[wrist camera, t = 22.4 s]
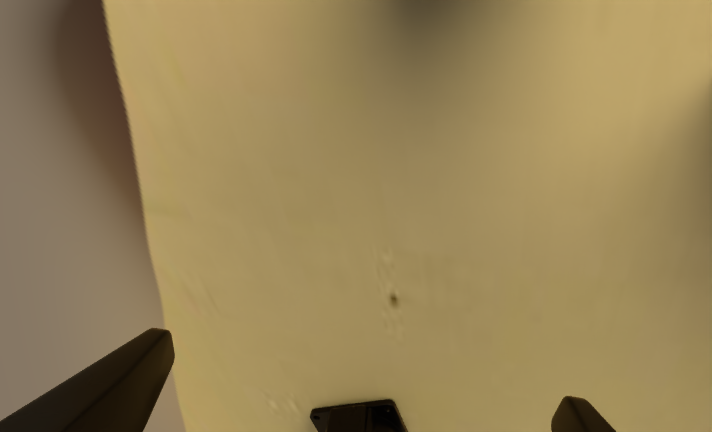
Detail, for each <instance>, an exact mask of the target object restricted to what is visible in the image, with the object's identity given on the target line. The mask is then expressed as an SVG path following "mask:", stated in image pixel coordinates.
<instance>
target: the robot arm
mask: <svg viewBox="0 0 712 432" xmlns="http://www.w3.org/2000/svg"><path fill="white" fill-rule="evenodd" d="M174 358H175V353H174V347H173V341H172V335H171V333H170V331H169V330H165V329H158V328H151V329H149V330H147V331H145V332H144V333H142V334H140V335H139V336H137V337H136V338H134V339H132V340H131V341H129V342H127V343H126V344H124V345H123V346H121V347H119V348H118V349H116V350H115V351H113V352H111V353H110V354H108V355H106V356H105V357H103V358H102V359H100V360H98V361H97V362H95V363H94V364H92V365H90V366H89V367H87V368H85V369H84V370H82V371H81V372H79V373H77V374H76V375H74V376H72V377H71V378H69V379H68V380H66V381H64V382H63V383H61V384H59V385H58V386H56V387H55V388H53V389H51V390H50V391H48V392H47V393H45V394H43V395H42V396H40V397H38V398H37V399H35V400H34V401H32V402H30V403H29V404H27V405H25V406H24V407H22V408H21V409H19V410H17V411H16V412H14V413H12V414H11V415H9V416H8V417H6V418H4V419H3V420H1V421H0V432H143V430H144V428H145V426H146V424H147V422H148V419H149V417H150V415H151V413H152V411H153V408H154V406H155V404H156V402H157V399H158V397H159V395H160V392H161V390H162V388H163V386H164V383H165V381H166V379H167V377H168V374H169V372H170V370H171V368H172V365H173V363H174ZM310 419H311V420H312V422H313V424H314V425H315V427H316V429H317V431H318V432H408V431H407V429H406V426H405V424H404V422H403V420H402V417H401V415H400V413H399V410H398V408H397V406H396V404H395V402H394V401H392V400H387V399H386V400H379V401H371V402H363V403H355V404H347V405H339V406H331V407H323V408H316V409H313V410H312V411H311V415H310ZM551 430H552V432H616V431H615V430H614V429H613V428H612V427H611V425H610V424H609V423H608V422H607V421H606V420H605V419H604V418H603V417H602V416H601V415H600V414H599V413H598V412H597V410H596V409H595V408H594V407H593V406H592V405H591V404H590V403H589V402H588V401H587V400H585V399H583V398H579V397H572V396H565V397H564V398H563V399H562V401H561V403H560V405H559V406H558V408H557V410H556V412H555V414H554V416H553V418H552V422H551Z"/></svg>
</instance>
